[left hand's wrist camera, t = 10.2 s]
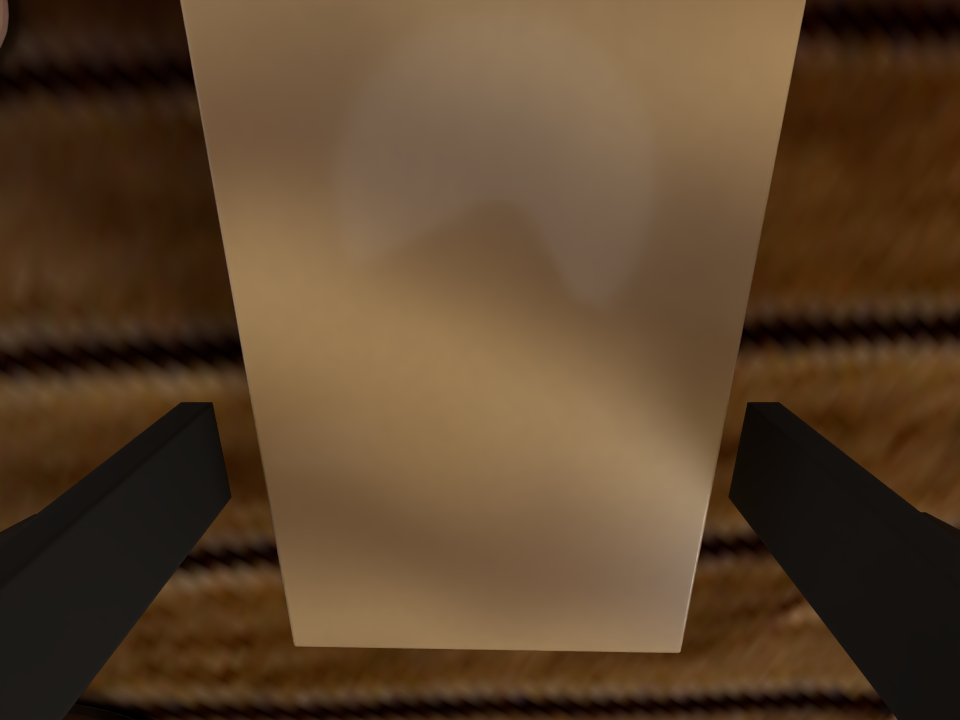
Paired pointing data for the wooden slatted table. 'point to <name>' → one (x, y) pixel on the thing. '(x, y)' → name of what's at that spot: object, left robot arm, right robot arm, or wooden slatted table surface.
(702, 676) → the wooden slatted table surface
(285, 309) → the long beam
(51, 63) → the wooden slatted table surface
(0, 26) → the anatomical model
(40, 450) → the wooden slatted table surface
